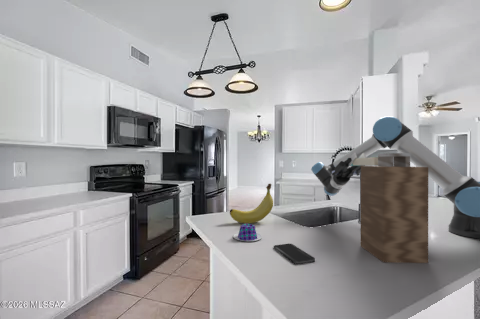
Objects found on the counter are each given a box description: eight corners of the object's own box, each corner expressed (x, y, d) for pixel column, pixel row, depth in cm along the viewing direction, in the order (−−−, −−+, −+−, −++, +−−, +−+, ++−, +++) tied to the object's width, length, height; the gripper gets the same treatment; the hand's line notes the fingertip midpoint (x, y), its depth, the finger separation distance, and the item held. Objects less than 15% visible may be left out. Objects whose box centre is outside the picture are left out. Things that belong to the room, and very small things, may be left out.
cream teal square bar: (354, 165, 109) (354, 158, 109) (382, 165, 87) (382, 156, 87) (346, 165, 109) (346, 158, 109) (373, 165, 87) (373, 156, 87)
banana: (230, 225, 114) (230, 184, 114) (228, 222, 120) (229, 183, 120) (274, 223, 118) (274, 184, 118) (270, 220, 124) (271, 183, 124)
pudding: (257, 232, 103) (257, 221, 103) (265, 242, 91) (265, 228, 92) (231, 234, 101) (231, 222, 101) (235, 244, 89) (235, 230, 89)
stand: (398, 246, 87) (398, 154, 87) (428, 262, 73) (428, 153, 73) (360, 246, 87) (360, 154, 87) (383, 262, 73) (383, 152, 73)
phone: (295, 262, 71) (272, 245, 85) (295, 266, 71) (272, 248, 85) (316, 259, 73) (291, 243, 88) (316, 262, 73) (291, 246, 88)
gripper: (357, 185, 119) (381, 162, 99) (325, 185, 119) (343, 162, 99) (354, 172, 123) (376, 148, 103) (322, 172, 123) (339, 147, 103)
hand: (360, 155), depth 101 cm, fingers closed on cream teal square bar, 3 cm apart
